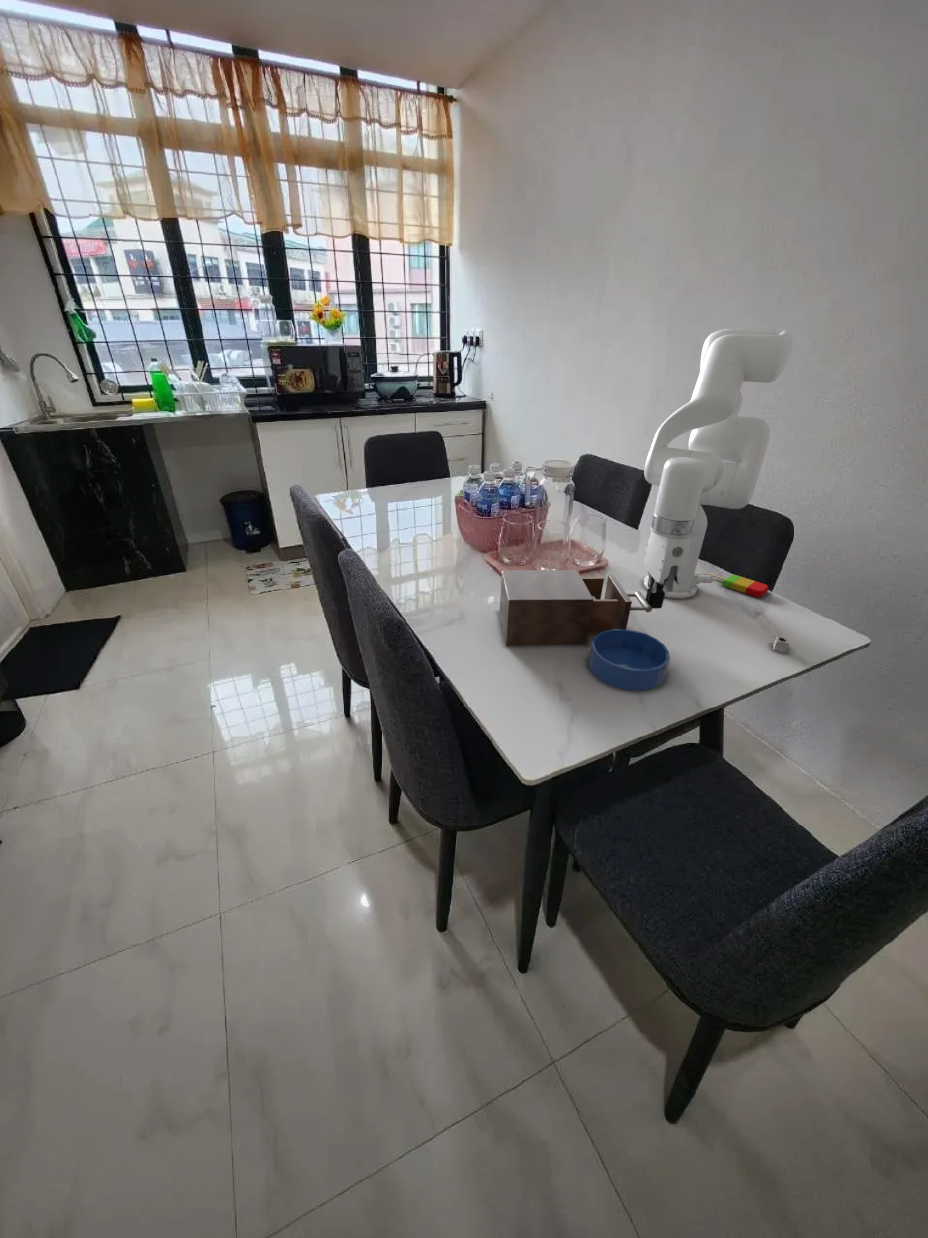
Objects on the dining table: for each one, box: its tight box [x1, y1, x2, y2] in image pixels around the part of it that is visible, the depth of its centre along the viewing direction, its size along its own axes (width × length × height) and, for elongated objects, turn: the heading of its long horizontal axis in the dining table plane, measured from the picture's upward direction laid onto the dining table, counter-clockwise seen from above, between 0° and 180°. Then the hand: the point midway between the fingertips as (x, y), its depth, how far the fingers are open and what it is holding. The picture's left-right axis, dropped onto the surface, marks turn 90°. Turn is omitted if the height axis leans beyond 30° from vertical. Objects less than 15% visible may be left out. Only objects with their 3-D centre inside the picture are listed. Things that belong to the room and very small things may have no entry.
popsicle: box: [704, 571, 769, 598], centre depth 128 cm, size 6×15×2 cm, turn 43°
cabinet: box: [499, 569, 593, 646], centre depth 106 cm, size 17×14×11 cm
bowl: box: [588, 628, 671, 692], centre depth 95 cm, size 14×14×4 cm
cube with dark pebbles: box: [772, 636, 790, 654], centre depth 102 cm, size 2×2×2 cm
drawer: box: [581, 574, 653, 637], centre depth 107 cm, size 21×12×9 cm, turn 92°
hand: (652, 606), depth 107 cm, fingers closed
